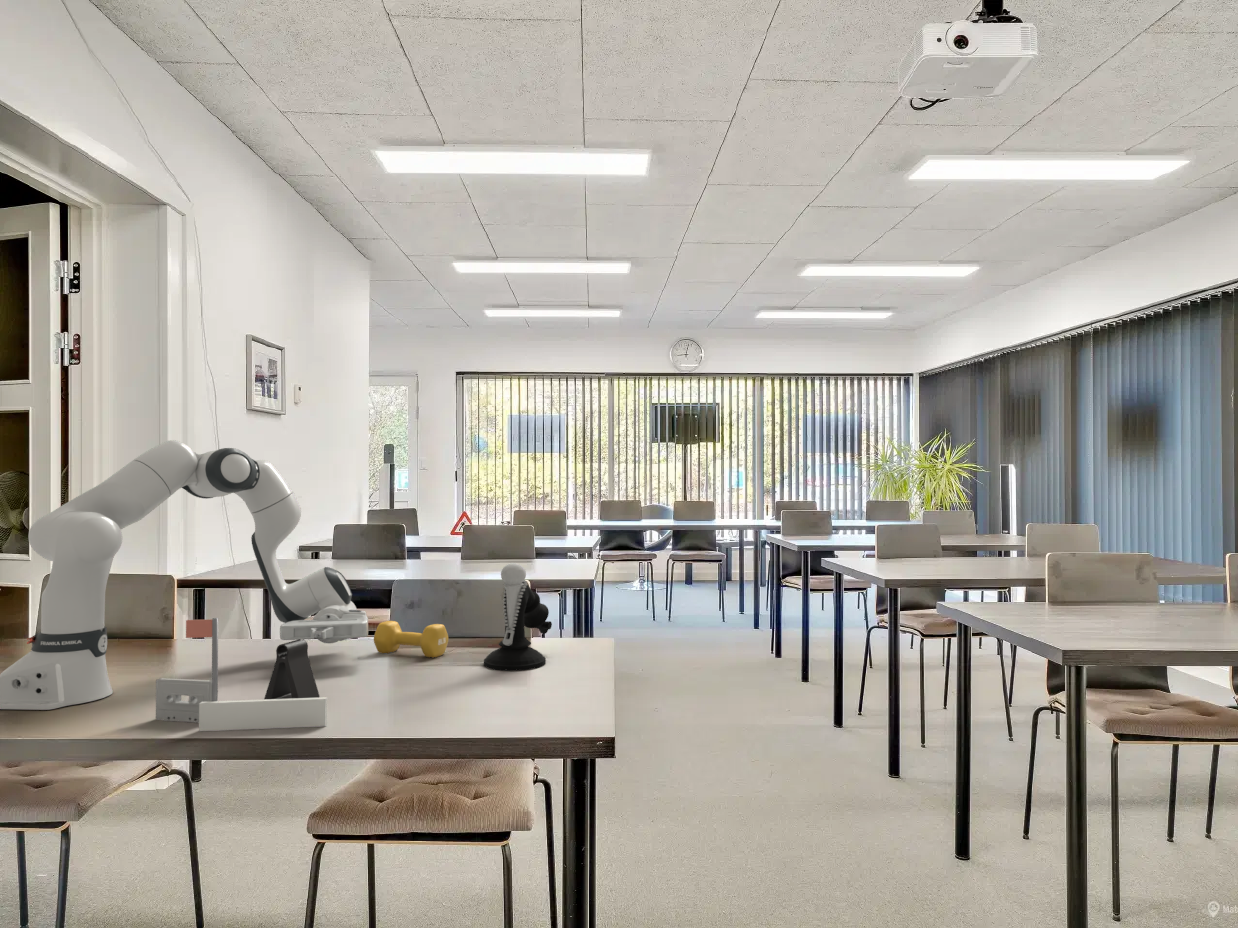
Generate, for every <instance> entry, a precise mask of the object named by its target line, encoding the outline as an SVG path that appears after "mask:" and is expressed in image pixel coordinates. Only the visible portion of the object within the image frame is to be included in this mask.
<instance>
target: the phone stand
mask: <svg viewBox="0 0 1238 928" xmlns="http://www.w3.org/2000/svg"><path fill="white" fill-rule="evenodd" d="M308 649H309V644H308V642H307V640H306V639H302V640H300V639H299V640H291V641H288V642H285V643H282V644H279V645H277V647H276V650H275V652H276V659H275V662H274V665H273V670H272V672H271V675H270V679H269V682H268V686H267V688H266V693H265V695H264V698H263V700H264V699H292V698H320V693H319V690H318V686H317V682H316V680H315V679H316V678H315V675H314V671H313V667H312V664H311V661H310V658H309V653H308Z"/></svg>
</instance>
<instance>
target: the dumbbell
mask: <svg viewBox="0 0 1238 928" xmlns="http://www.w3.org/2000/svg"><path fill="white" fill-rule="evenodd" d="M373 642H374V643H373V644H374V645H375V648H376V650H377V652H378V653H379V654H384V653H387V654H391V653H390V652H392V653H394V652H397V651H398V650H399V649H400V646H413V647H420V649H421V651H422V653H423V655H424V656H425V657H427V658H430V657H432V659H433V658H434V657H435V658H438V657H441V656H442V655H444V654H445V652H446V650H447V646H448V643H449V634H448V632H447V629H446V627H445V625H444V624H440V623H433V624H430V625H429V624H428V625H427V626H425V627H424V629H423V631H422V633H421V632H413V631H403V630H402V628H401V626H400V624H399V622H398V621H395V620H385V621H382V622H379V624H378V625H377V628H376V630H375V632H374V636H373ZM396 650H397V651H396Z"/></svg>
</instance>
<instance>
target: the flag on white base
mask: <svg viewBox="0 0 1238 928" xmlns="http://www.w3.org/2000/svg"><path fill="white" fill-rule="evenodd" d="M185 638H189V639H192V638H194V639H195V638H211V681H212V701H208V702H201V703H199V723H198V731H199V732H214V731H219V732H220V731H237V730H239V731H243V730H263V729H264V730H265V729H289V728H314V727H315V728H316V727H326V726H327V724H328V697H327V696H325V697H319V698H292V699H264V698H263V699H243V700H241V699H240V700H218V699H219V697H218V694H219V693H218V692H219V690H218V687H219V686H218V683H219V617H214V618H212V619H209V618H208V619H186V620H185Z"/></svg>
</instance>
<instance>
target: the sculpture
mask: <svg viewBox="0 0 1238 928" xmlns="http://www.w3.org/2000/svg"><path fill="white" fill-rule="evenodd" d="M526 576H527V571H526V569H525V567H524V566H523V565H522V564H520V563H516V562H510V563H507V564H506V565H505V566H503V567H502V569H501V572H500V578H501V580H502V582H503V584H502V585H503V587H504V588H503V589H504V590H503V592H502V593H503V594H502V597H503V598H502V604H503V605H502V608H503V609H502V612H503V619H504V638H503V639H501V641H499V642H498V646H499V648H497V649H495V650H493V651H492V652H490V653H489V654H487V656H486V657H485V658H484V659H483V667H484V668H487V669H490V670H494V669H495V671H507V672H508V671H510V672H512V671H513V672H514V671H529V670H534V669H538V668H542V667H544V665H545V666H546V661H547V659H546V657H545V656H544V655H543V654H542V653H541V652H540V651H539V650H537V649H535V648H533V647H531V646H530V645H532V642H531V641H529V640H528V638H526V635H525V633H526V632H525V627H526V628H527V629H528V628H529V629H538V631H539V632H540V634H542V635H543V634H547V633H548V631H549V630H551V629H552V626H553V623H552V621H548V620H547V619H548V617H549V613H550V612H549V611H550V610H549V608H548V606H547V605H546V604H544V603H541V597H540V595H539V593H538V592H537V591H533V590H532V589H531V586H529V585H528V581H527V580H526Z"/></svg>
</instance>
